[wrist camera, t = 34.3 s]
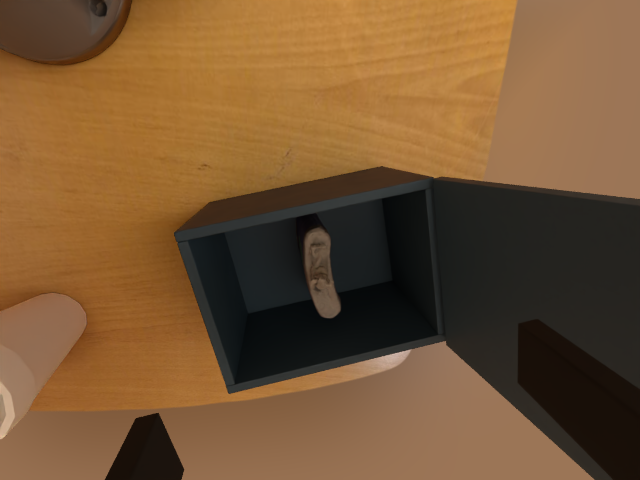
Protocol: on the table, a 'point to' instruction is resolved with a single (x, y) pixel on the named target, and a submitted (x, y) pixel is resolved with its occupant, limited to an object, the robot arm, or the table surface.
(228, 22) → the table surface
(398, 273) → the box
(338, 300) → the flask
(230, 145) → the table surface
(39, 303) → the foam cup
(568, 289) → the lunchbox lid
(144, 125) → the table surface
